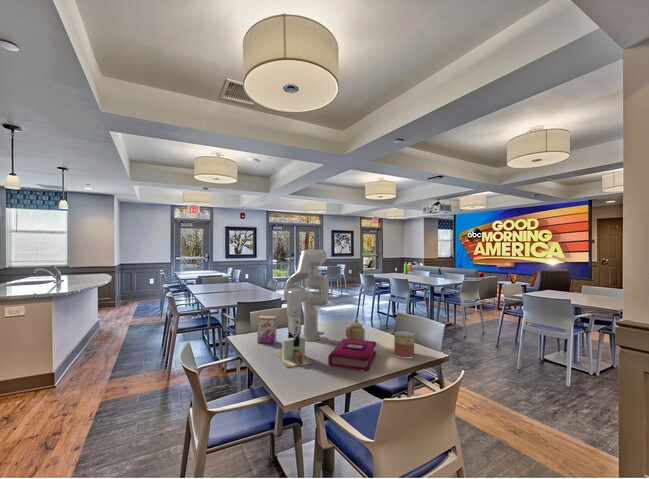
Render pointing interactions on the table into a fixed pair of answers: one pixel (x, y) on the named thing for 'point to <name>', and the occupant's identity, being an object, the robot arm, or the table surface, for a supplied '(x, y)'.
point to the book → (353, 354)
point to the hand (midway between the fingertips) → (293, 343)
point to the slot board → (295, 359)
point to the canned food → (404, 344)
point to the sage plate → (292, 347)
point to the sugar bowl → (355, 331)
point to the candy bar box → (267, 329)
